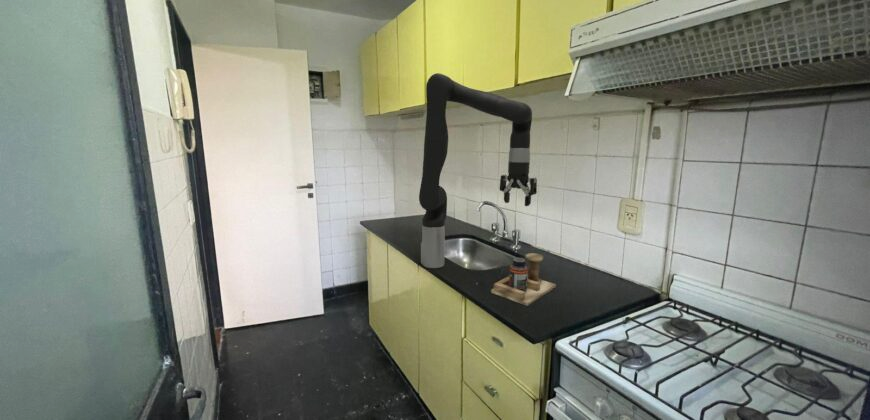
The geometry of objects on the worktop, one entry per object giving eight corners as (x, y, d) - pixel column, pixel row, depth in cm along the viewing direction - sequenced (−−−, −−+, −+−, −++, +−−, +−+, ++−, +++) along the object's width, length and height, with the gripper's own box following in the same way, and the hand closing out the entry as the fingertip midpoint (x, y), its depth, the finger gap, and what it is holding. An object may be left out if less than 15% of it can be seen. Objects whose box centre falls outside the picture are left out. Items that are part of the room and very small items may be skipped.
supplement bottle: (507, 286, 125) (509, 256, 122) (524, 287, 124) (526, 256, 122) (510, 294, 119) (511, 262, 117) (528, 294, 119) (529, 262, 116)
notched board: (490, 292, 122) (491, 283, 122) (521, 276, 136) (521, 267, 136) (526, 306, 113) (527, 295, 112) (555, 286, 127) (556, 277, 126)
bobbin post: (521, 282, 128) (522, 256, 126) (529, 277, 133) (531, 252, 131) (536, 287, 124) (537, 260, 122) (544, 282, 129) (546, 255, 126)
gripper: (496, 160, 130) (495, 203, 134) (531, 162, 121) (528, 208, 124) (508, 159, 136) (506, 200, 139) (542, 161, 126) (539, 205, 129)
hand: (516, 204), depth 132 cm, fingers open, 8 cm apart
